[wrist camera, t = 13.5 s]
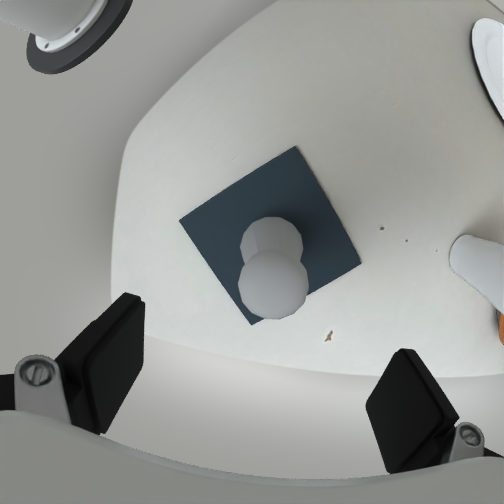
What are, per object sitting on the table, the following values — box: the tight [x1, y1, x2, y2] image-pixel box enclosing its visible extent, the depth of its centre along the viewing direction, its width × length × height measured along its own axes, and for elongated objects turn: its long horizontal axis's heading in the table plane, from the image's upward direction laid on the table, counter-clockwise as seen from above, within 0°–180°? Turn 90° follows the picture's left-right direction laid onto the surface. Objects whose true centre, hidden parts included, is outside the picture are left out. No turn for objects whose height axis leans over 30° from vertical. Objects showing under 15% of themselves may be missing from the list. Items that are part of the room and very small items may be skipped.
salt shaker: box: [238, 217, 309, 319], centre depth 22 cm, size 6×6×13 cm
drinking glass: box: [449, 235, 504, 315], centre depth 21 cm, size 7×7×15 cm
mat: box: [179, 146, 361, 325], centre depth 29 cm, size 14×14×1 cm
